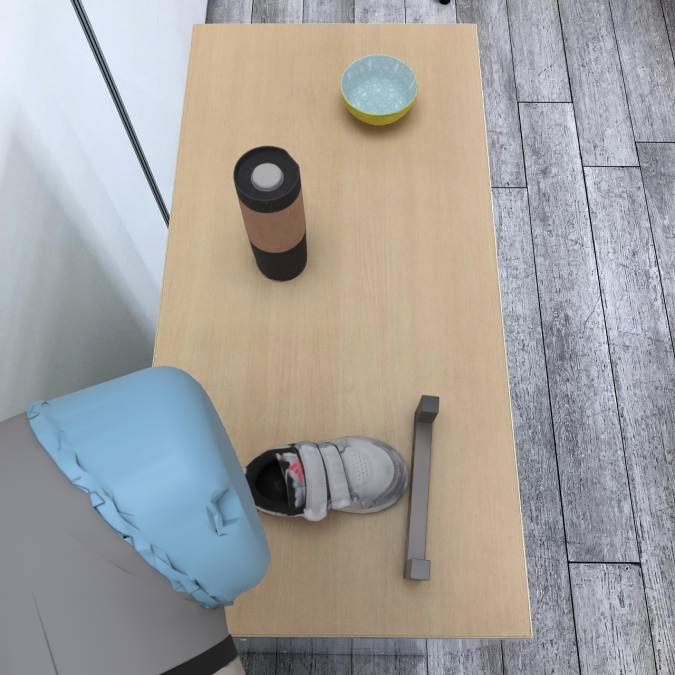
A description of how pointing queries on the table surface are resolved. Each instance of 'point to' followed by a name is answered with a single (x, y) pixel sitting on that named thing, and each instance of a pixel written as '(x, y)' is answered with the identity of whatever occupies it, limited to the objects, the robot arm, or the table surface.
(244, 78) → the table surface
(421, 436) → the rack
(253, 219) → the travel mug
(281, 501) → the sneaker
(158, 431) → the robot arm
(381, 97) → the bowl
